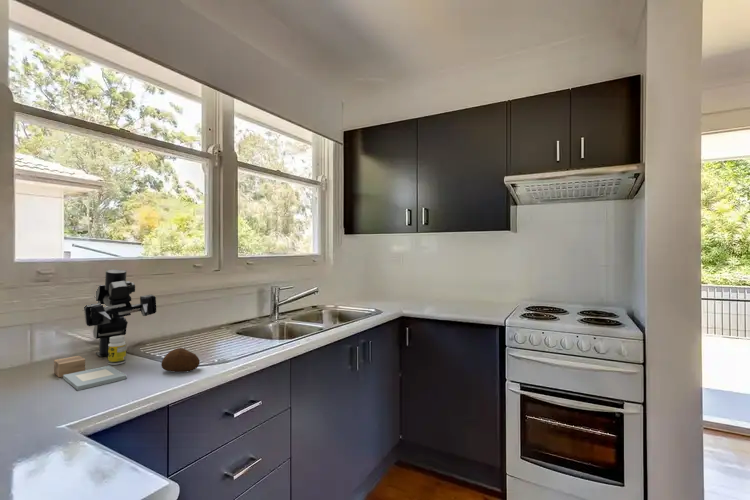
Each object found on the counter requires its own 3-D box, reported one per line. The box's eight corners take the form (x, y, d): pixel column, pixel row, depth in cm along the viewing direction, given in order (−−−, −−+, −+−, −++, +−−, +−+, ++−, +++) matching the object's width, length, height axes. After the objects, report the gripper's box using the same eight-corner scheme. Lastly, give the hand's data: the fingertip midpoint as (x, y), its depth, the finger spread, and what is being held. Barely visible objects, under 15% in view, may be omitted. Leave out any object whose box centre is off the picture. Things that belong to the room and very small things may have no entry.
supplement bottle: (104, 363, 117) (104, 337, 117) (120, 359, 122) (120, 334, 122) (113, 366, 115) (113, 339, 115) (129, 362, 119) (129, 336, 119)
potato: (197, 373, 109) (197, 350, 109) (157, 377, 106) (157, 352, 106) (201, 366, 116) (201, 344, 116) (163, 369, 113) (164, 346, 113)
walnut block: (54, 373, 108) (54, 360, 108) (79, 368, 113) (79, 355, 113) (58, 378, 105) (59, 364, 105) (85, 372, 109) (85, 359, 109)
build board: (63, 378, 104) (63, 374, 104) (109, 368, 113) (109, 365, 113) (77, 390, 95) (77, 386, 95) (126, 378, 104) (126, 375, 104)
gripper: (78, 284, 114) (88, 298, 103) (147, 275, 127) (161, 286, 116) (82, 318, 116) (91, 335, 105) (149, 305, 129) (163, 319, 118)
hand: (129, 317), depth 111 cm, fingers open, 9 cm apart
